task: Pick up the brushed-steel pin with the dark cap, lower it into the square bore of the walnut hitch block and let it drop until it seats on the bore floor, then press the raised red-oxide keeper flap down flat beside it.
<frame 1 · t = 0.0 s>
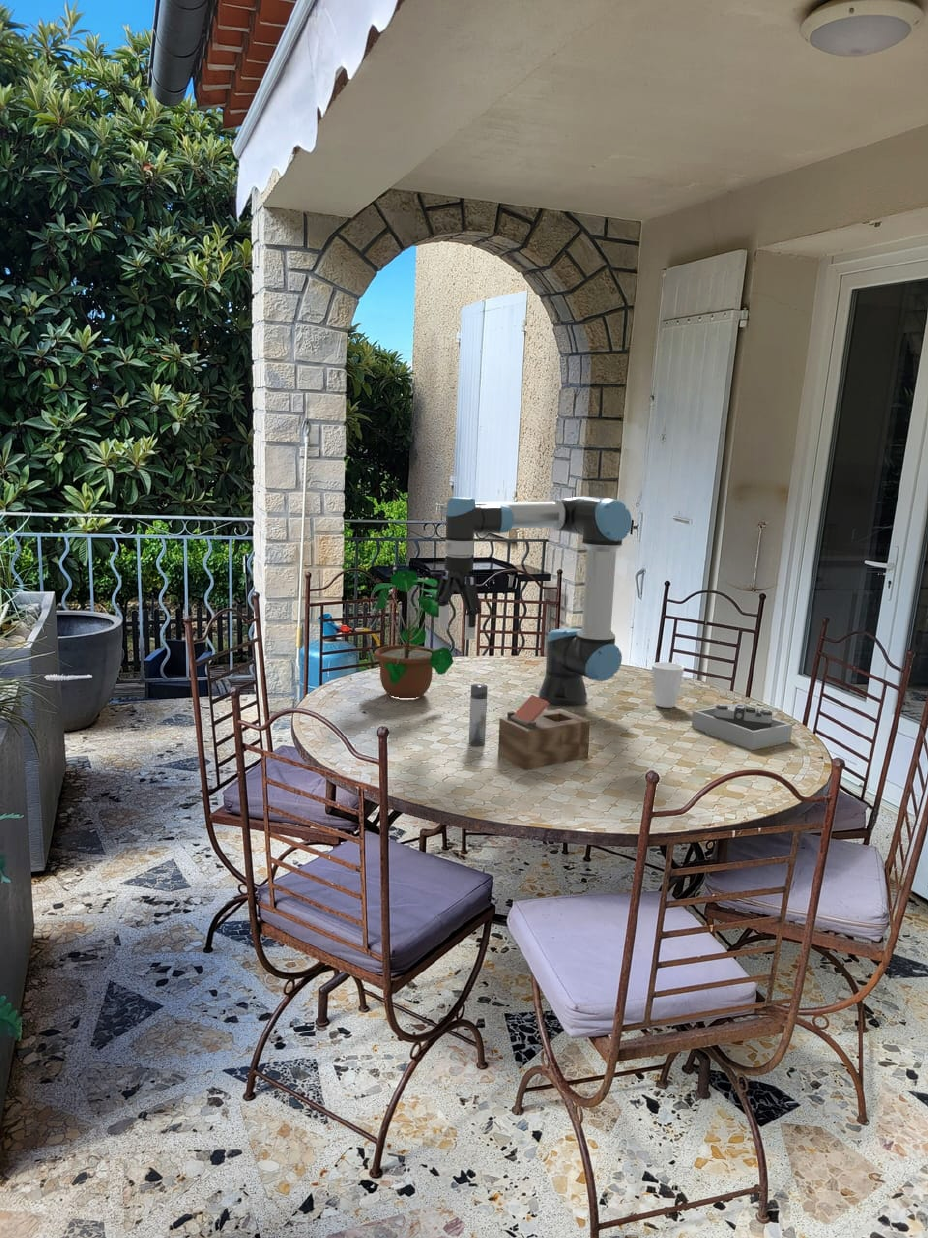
hand: (456, 634, 237), 28 cm above the table, fingers open, 13 cm apart
camera: (741, 737, 251), resting in camera corral
cup: (664, 706, 278), on the table
keeper flap: (529, 710, 221), point 13 cm above the table, hinge at 40.0°
potted plant: (416, 696, 278), on the table
camera corral: (740, 734, 251), on the table
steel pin: (476, 744, 234), on the table
hitch block: (542, 756, 226), on the table
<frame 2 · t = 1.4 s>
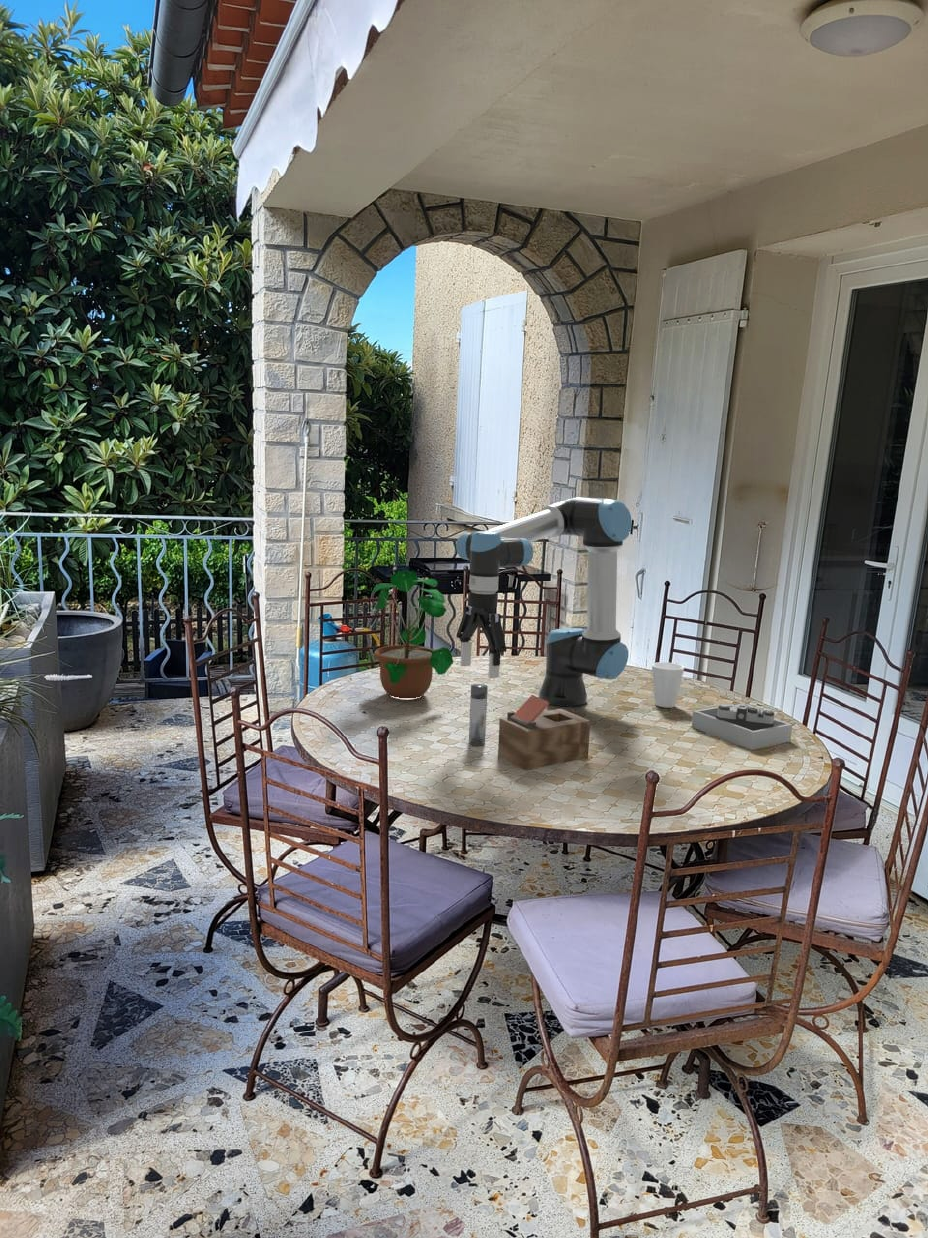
hand: (479, 671, 231), 20 cm above the table, fingers open, 13 cm apart
camera: (742, 737, 251), resting in camera corral
everything else where it was.
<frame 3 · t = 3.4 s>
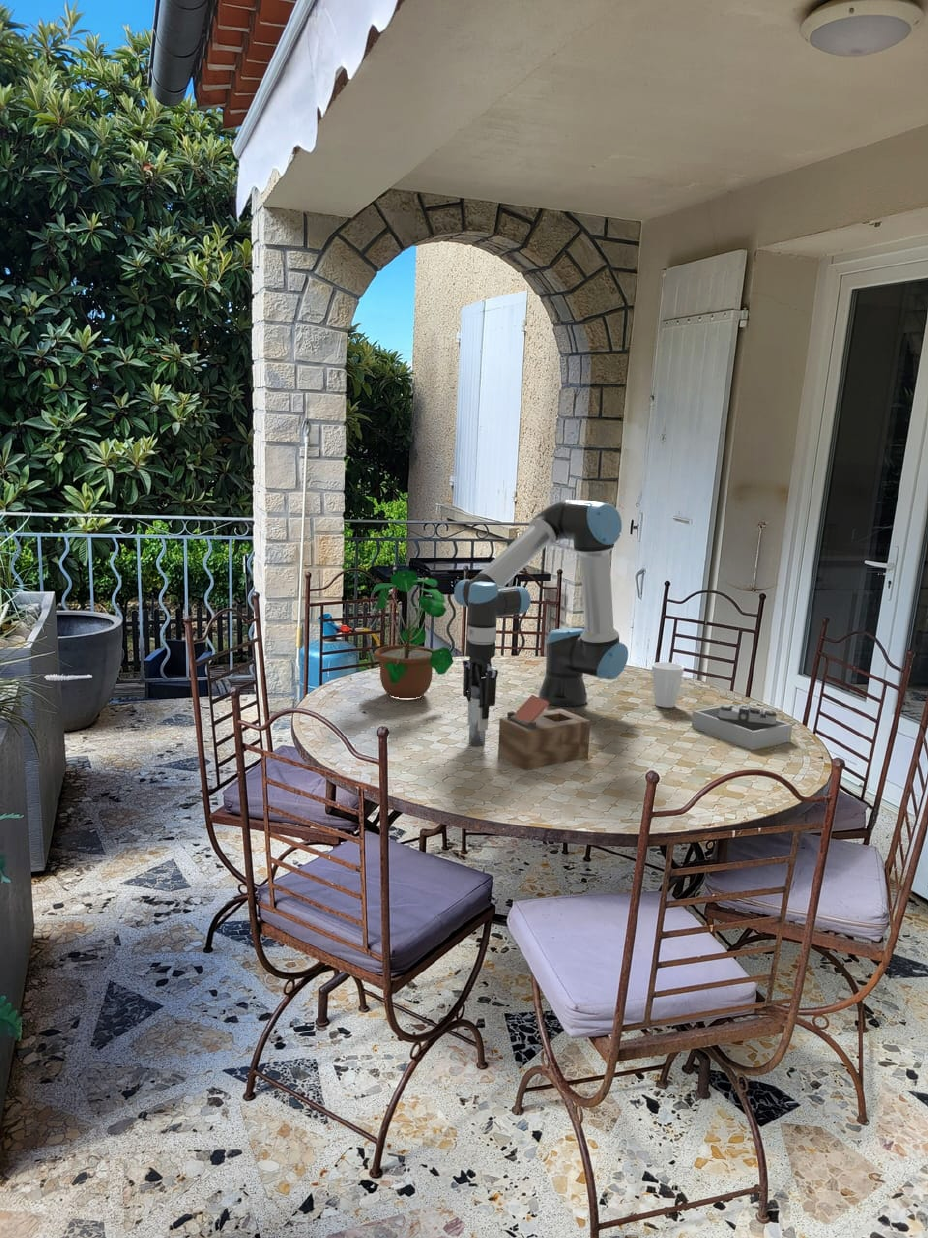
hand: (477, 727, 234), 5 cm above the table, fingers closed on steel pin, 4 cm apart
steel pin: (476, 744, 234), on the table, touching gripper
everything else where it was.
when the fingers open (12 cm above the table, at t = 8.8 s): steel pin drops 5 cm, resting on hitch block.
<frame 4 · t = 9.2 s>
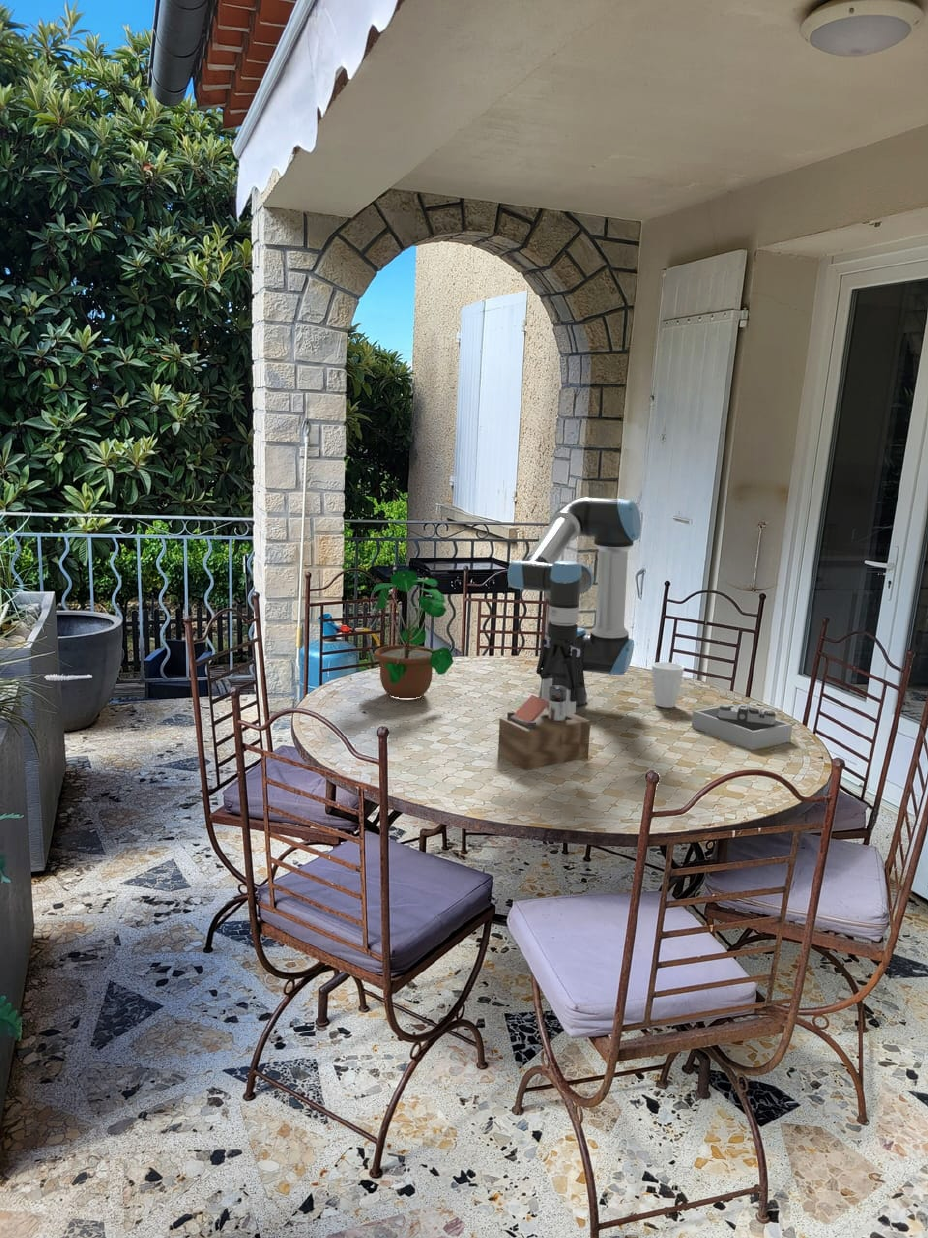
hand: (558, 707, 226), 13 cm above the table, fingers open, 9 cm apart
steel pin: (555, 746, 228), point 2 cm above the table, touching hitch block
everything else where it was.
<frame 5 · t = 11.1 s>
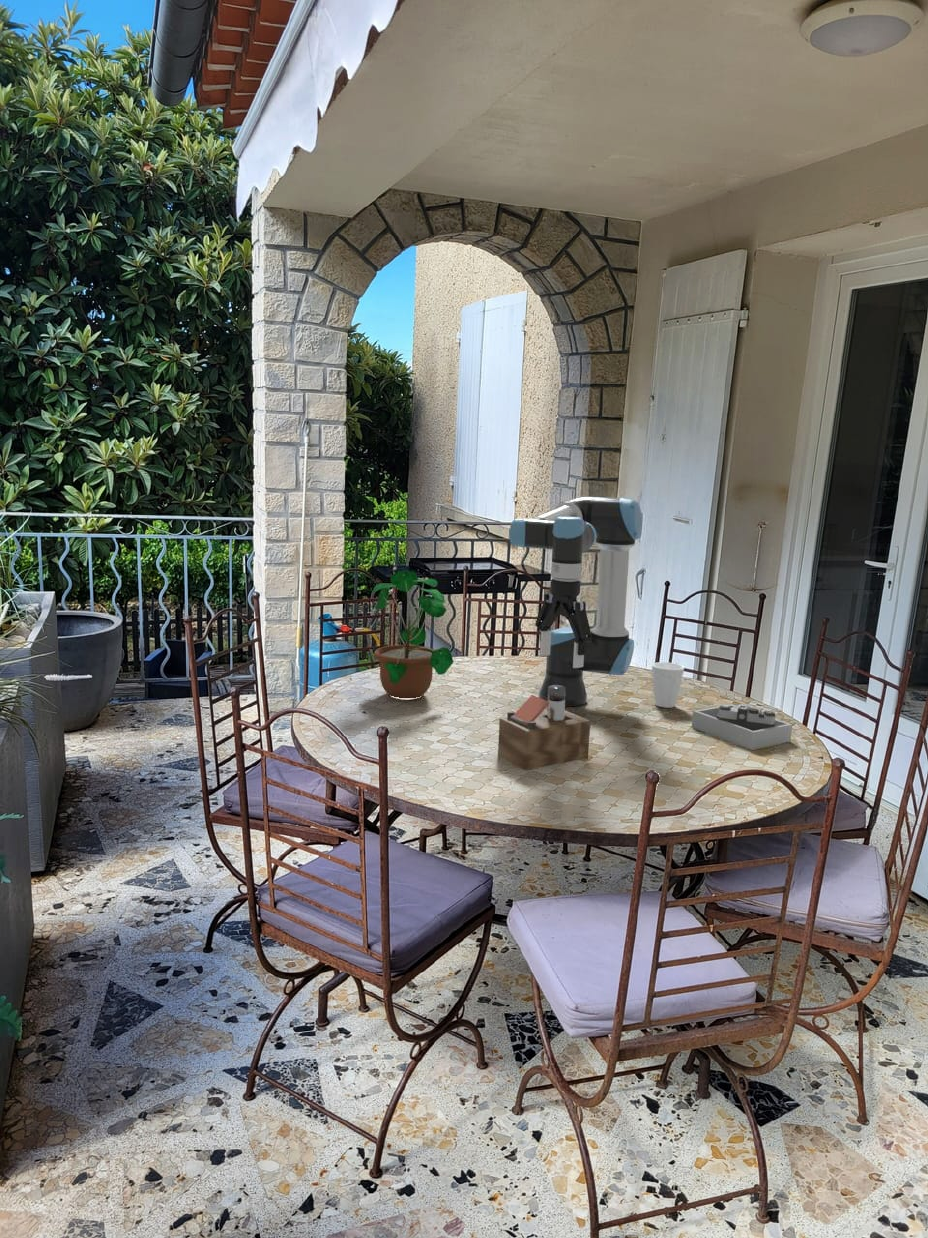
hand: (561, 661, 224), 25 cm above the table, fingers open, 13 cm apart
nothing on the table moved.
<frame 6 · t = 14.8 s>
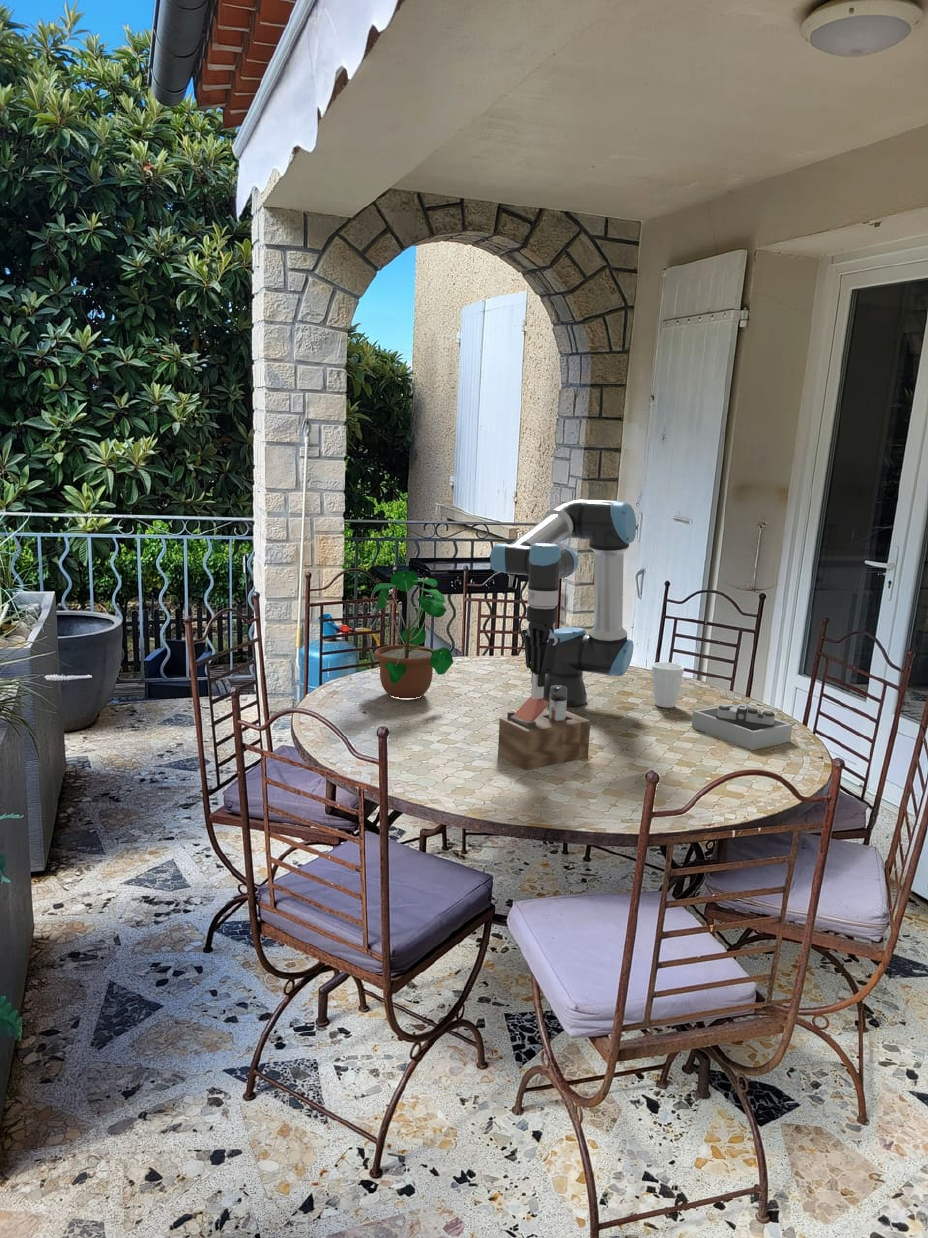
hand: (537, 698, 222), 16 cm above the table, fingers closed
keeper flap: (529, 710, 221), point 13 cm above the table, hinge at 39.7°, touching gripper
everything else where it was.
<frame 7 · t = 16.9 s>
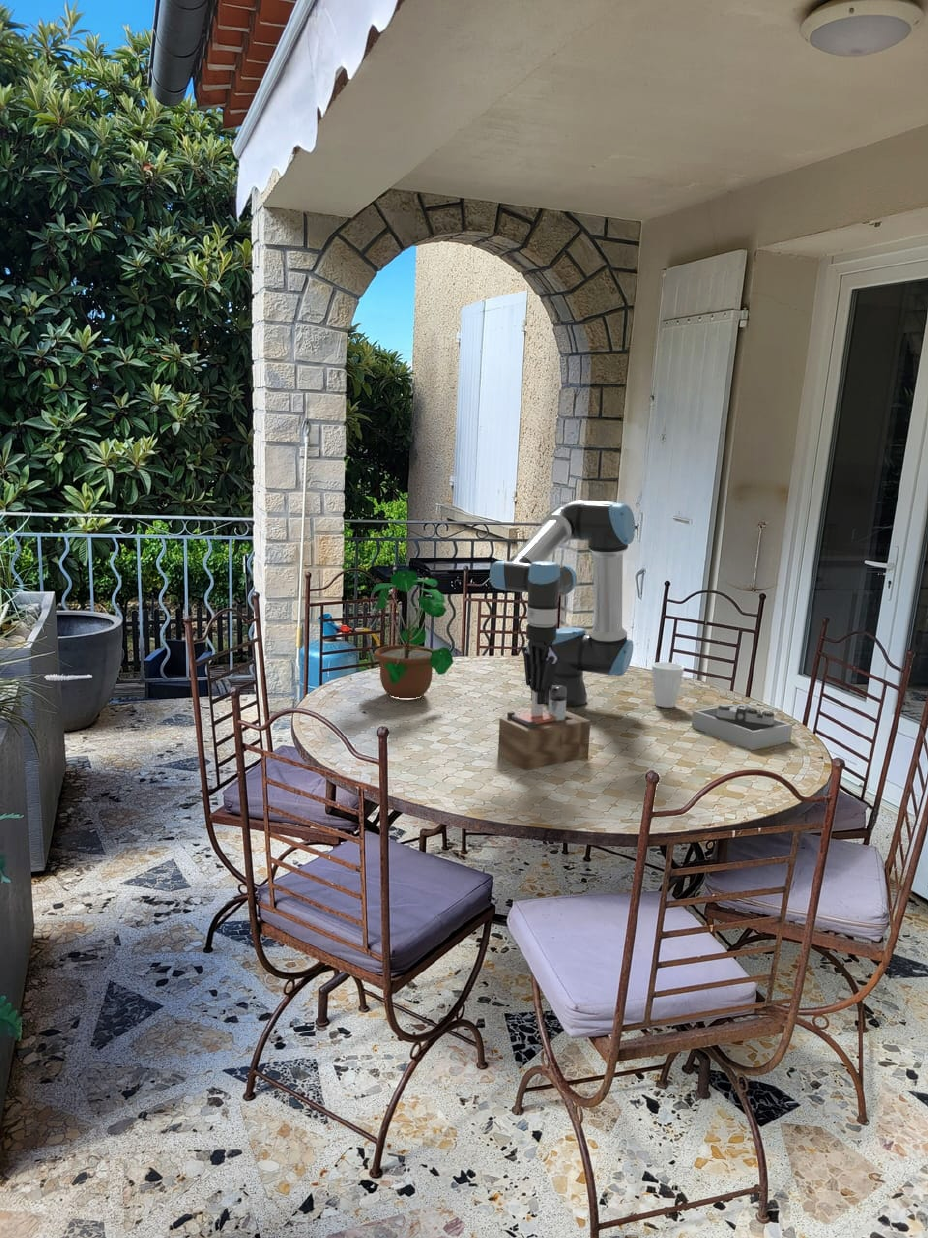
hand: (536, 715, 223), 12 cm above the table, fingers closed
keeper flap: (533, 717, 222), point 11 cm above the table, hinge at 3.8°, touching gripper
everything else where it was.
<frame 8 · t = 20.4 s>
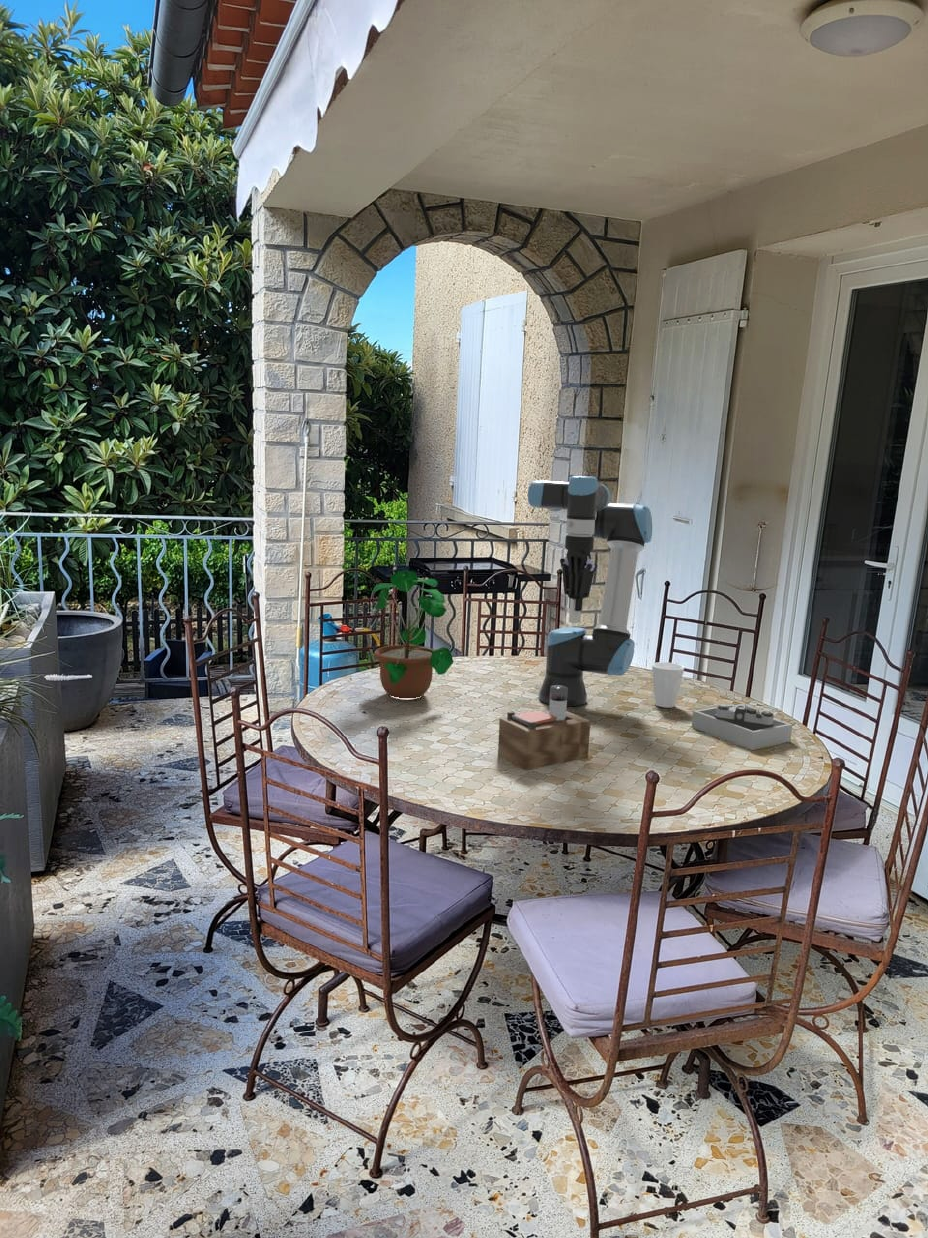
hand: (574, 622, 237), 32 cm above the table, fingers closed
keeper flap: (533, 717, 222), point 11 cm above the table, hinge at 3.7°
everything else where it was.
at the end: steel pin 0.1 cm from the target spot, point 2.0 cm above the table; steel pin tilted 0°; keeper flap at +4° (first picture: +40°) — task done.
